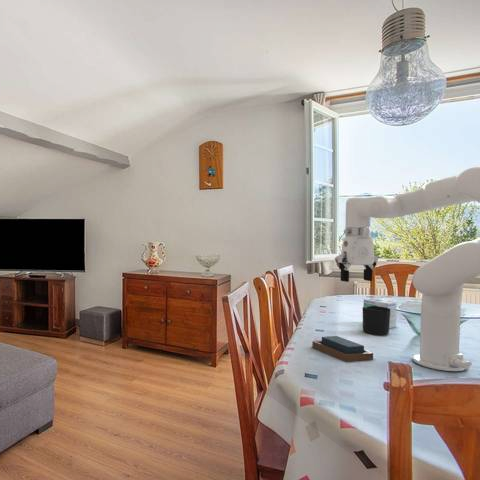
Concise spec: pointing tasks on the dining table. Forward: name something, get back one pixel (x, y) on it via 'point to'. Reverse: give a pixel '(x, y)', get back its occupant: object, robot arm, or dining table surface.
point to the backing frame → (341, 355)
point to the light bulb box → (384, 303)
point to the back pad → (342, 345)
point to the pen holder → (376, 320)
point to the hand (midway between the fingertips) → (356, 280)
